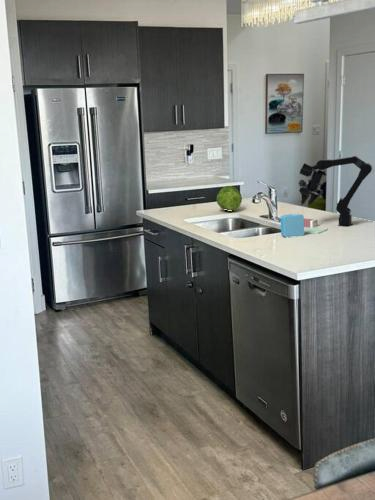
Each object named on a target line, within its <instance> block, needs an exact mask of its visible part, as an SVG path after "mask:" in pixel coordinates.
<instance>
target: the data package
mask: <svg viewBox="0 0 375 500" xmlns="http://www.w3.org/2000/svg"><path fill="white" fill-rule="evenodd" d="M304 219H305V217H304V215H303V214H301V213H292V214H291V213H290V214H283V215H281V216H280V235H281V237H283V236H284V237H283V238H286V237H288V238H292V237H291V236H296V237H303V236H304V235H305V233H304V228H305V227H304Z"/></svg>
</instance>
